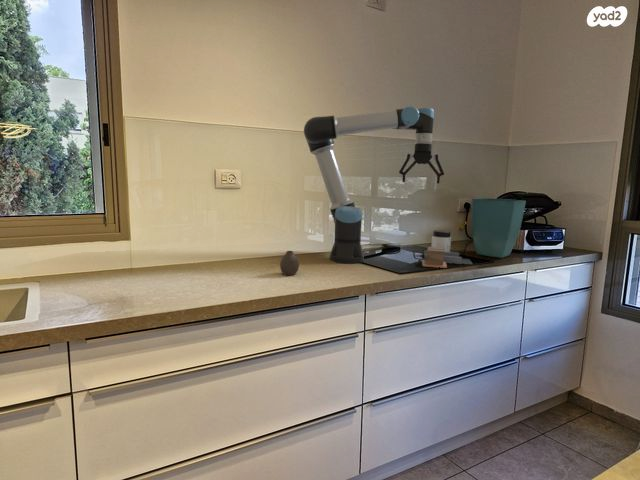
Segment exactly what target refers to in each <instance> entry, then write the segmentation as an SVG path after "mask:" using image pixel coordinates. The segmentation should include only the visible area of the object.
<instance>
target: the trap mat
mask: <svg viewBox="0 0 640 480" xmlns="http://www.w3.org/2000/svg"><path fill="white" fill-rule="evenodd" d="M461 265H467V266H468V265H469V266H470V265H471V266H473V265H474V264H473V262H472V261H471V259H470V258H462V262H461Z"/></svg>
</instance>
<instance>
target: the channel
mask: <svg viewBox="0 0 640 480" xmlns="http://www.w3.org/2000/svg"><path fill="white" fill-rule="evenodd" d="M423 251H424V252H423V257H424V259H423V260H426V258H427V250H423ZM462 259H463V257H462V256H460V252H452V251H450V252H444V259H443V262H446V264H453V263H454V264H455V265H462V263H461V262H462Z"/></svg>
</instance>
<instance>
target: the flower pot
mask: <svg viewBox="0 0 640 480" xmlns="http://www.w3.org/2000/svg"><path fill="white" fill-rule="evenodd" d="M471 202H472V203H471V204H472V207H471V210H472V212H471V232H472V240H473V241H472V242H473V245H474V248H475V249H474V250H475V252H476V254H477V255H480V256H487V257H493V258H499V259H502V258H505V257H508V256H510V255H511V253H512V250H513V249H514V247H515V244H516V242H517V240H518V237H519V233H520V231H521V227H522V222H523V218H524V212H525V207H526V203H527V201H526V200H521V199H520V200H518V199H506V198H504V199H503V198H491V197H489V198H487V197H482V198H481V197H480V198H479V197H478V198H477V197H476V198H475V197H474V198H472V201H471Z"/></svg>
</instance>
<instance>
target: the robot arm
mask: <svg viewBox="0 0 640 480" xmlns="http://www.w3.org/2000/svg"><path fill="white" fill-rule="evenodd" d="M434 120H435V111H434V108H432V107H419V108H416V107H415V106H412V105H409V106H406V107H404V108H398V109H391V110H389V109H388V110H382V111H375V112H374V111H373V112H367V113H361V114H353V115H347V116H340V117H337V116H335V115H327V116H326V115H325V116H313V117H311V118H310V119H308V120H307V121H306V123H305V124H304V127H303V134H304V137H305V140H306V142H307V145H308V148H309V151H310V152H309V153H310V154H312V155H314V156H315V158H316V162H317V164H318V168H319V171H320V173H321V176H322V180H323V182H324V185H325V189H326V191H327V194H328V199H329V200H330V204H331V206H330V208H329V210H330V213H331V216H332V219H333V223H334V242H333V245H332V248H331V251H330V253H329V260H330V261H332V262H335V263H343V264H360V263H363V262H364V261H365V255H364V251H363V248H362V243H361V241H362V239H361V238H362V220H363V210H362V209H361V208H360V207H357V206H356V205H355V202H354V200H352V199H351V198H350V196H349V195H348V191H347V188H346V185H345V182H344V180H343V176H342V173H341V170H340V167H339V164H338V161H337V158H336V155H335V152H334V151H335V150H334V147H335V145H336V144H335V142H334V139H338V138H339V137H340V136H341V137H342V136H347V135H354V134H361V133H367V132H376V131H383V130H390V129H392V130H396V131H397V130H413V131H414V130H415V140H414V142H415V144H414V153H413V154H411V153H407V155H406V159H405V161H404V163H403V164H402V166H401V168H400V170H399V171H398V173H399V174H400V175H402V183H404V188H403V189H404V190H405V191H406V190H407V184H408V183H407V181H408V179H407V178H408V175H407V174H408V173H409V171H410V170H411V169H412V168H413V167H414V166H415V165H416V164H417V165H429V167H430V169H431V170H432V171H433V172H434V174H435V175H436V176H435V178H434V190H433V191H434V192H435V191H437V187H438V186H437V184H440V181H441V179H440V178H441V177H443V176H444V175H445V172H444V170H443V167H442V165H441V163H440V159H439V154H437V153H436V154H432V147H433V145H432V143H433V135H434V132H433V131H434V122H435V121H434ZM412 158H413V159H414V160H413V162H412V163H411V164H410V165H409V166H408V168H406V166H407V164H408V163H409V161H410V160H411V159H412ZM431 159H433V160H434V161H435V163H436V165H437V168H438V170H439V171H438V170H437V168H436V167H435V166H434V165H433V163H432V162H431ZM405 168H406V170H405ZM404 170H405V171H404Z"/></svg>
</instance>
